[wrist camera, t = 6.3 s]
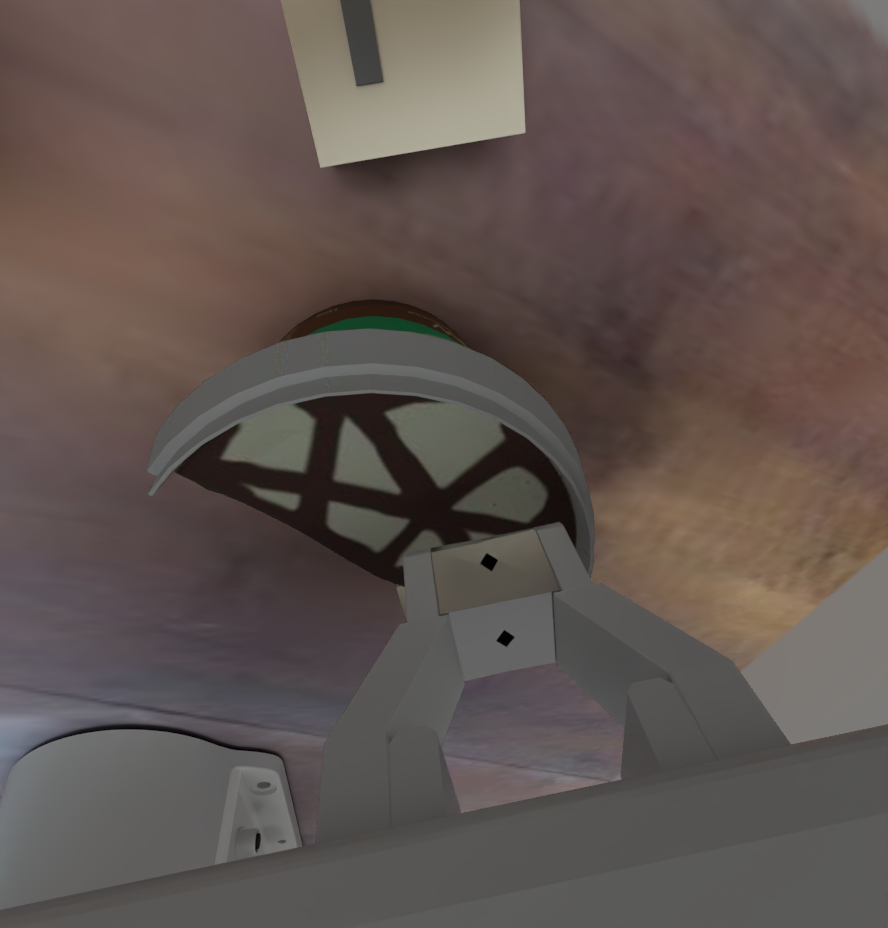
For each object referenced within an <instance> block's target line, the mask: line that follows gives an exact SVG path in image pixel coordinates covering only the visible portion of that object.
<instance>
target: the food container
mask: <svg viewBox="0 0 888 928" xmlns="http://www.w3.org/2000/svg"><path fill="white" fill-rule="evenodd" d="M174 471H175V472H176V473H178V474H180V475H182V476H184V477H186V478H188V479H190V480H192V481H194V482H196V483H198V484H199V485H201V486H202V487H204V488H206V489H207V490H211V491H214V492H217V493H221V494H223V495H226V496H228V497H231V498H233V499H236V500H238V501H241V502H243V503H245V504H247V505H249V506H251V507H253V508H255V509H257V510H259V511H261V512H263V513H265V514H267V515H270V516H272V517H274V518H276V519H278V520H280V521H282V522H284V523H286V524H288V525H290V526H291V527H293V528H295V529H297V530H299V531H300V532H302V533H304V534H306V535H307V536H309V537H311V538H312V539H314V540H316V541H317V542H319V543H321V544H322V545H324V546H326V547H327V548H329V549H331V550H332V551H334V552H335V553H337V554H339V555H340V556H342V557H344V558H345V559H347V560H349V561H351V562H352V563H354V564H356V565H358V566H360V567H361V568H363V569H365V570H367V571H368V572H370V573H372V574H374V575H375V576H377V577H379V578H382V579H384V580H387V581H390V582H392V583H395V584H398V585H400V586H403V587H405V582H404V568H403V556H404V553H408V552H413V551H419V550H425V549H431V548H433V547H439V546H444V545H450V544H455V543H461V542H467V541H472V540H478V539H483V538H487V537H492V536H497V535H502V534H507V533H511V532H516V531H521V530H526V529H530V528H534V527H538V526H543V525H547V524H552V523H556V522H560V523H561V524H563V526H564V528H565V530H566V532H567V534H568V536H569V537H570V539H571V541H572V543H573V545H574V547H575V549H576V551H577V553H578V555H579V557H580V559H581V561H582V563H583V565H584V567H585V569H586V571H587V573H588V575H589V577H590V579H591V573H592V568H593V562H594V542H595V541H594V513H593V508H592V504H591V499H590V495H589V491H588V487H587V483H586V480H585V476H584V473H583V469H582V466H581V462H580V459H579V455H578V452H577V450H576V448H575V446H574V444H573V442H572V439H571V437H570V435H569V433H568V431H567V428H566V427H565V425H564V424H563V422H562V421H561V420H560V418H559V417H558V416H557V414H556V413H555V411H554V410H553V409H552V407H551V406H550V405H549V403H548V402H547V401H546V400H545V399H544V398H543V397H542V396H541V395H540V394H539V393H538V392H537V391H536V390H535V389H533V388H532V387H531V386H530V385H529V384H528V383H527V382H526V381H525V380H524V379H523V378H522V377H520V376H518V375H517V374H515V373H514V372H512V371H511V370H509V369H508V368H506V367H504V366H503V365H501V364H500V363H498V362H497V361H495V360H494V359H492V358H490V357H488V356H486V355H483V354H481V353H479V352H476V351H474V350H471V349H470V348H469V347H468V346H467V345H466V343H465V342H464V341H463V340H462V339H461V337H460V336H459V335H458V334H457V333H455V332H454V331H453V330H452V329H451V328H450V327H449V326H448V325H447V324H446V323H444V322H443V321H441V320H439V319H438V318H436V317H435V316H433V315H432V314H430V313H428V312H425V311H423V310H421V309H419V308H416V307H414V306H411V305H407V304H403V303H399V302H395V301H385V300H362V301H352V302H348V303H344V304H340V305H336V306H332V307H330V308H328V309H325V310H323V311H321V312H318V313H316V314H314V315H312V316H311V317H309V318H308V319H306V320H304V321H303V322H301V323H300V324H298V325H297V326H296V327H295V328H294V329H292V330H291V331H290V332H289V333H288V334H287V335H286V336H285V337H284V338H283V339H282V340H281V341H280V342H279V343H277V344H275V345H272V346H270V347H267V348H265V349H262V350H260V351H258V352H255V353H253V354H250V355H248V356H245V357H243V358H241V359H239V360H237V361H236V362H234V363H232V364H231V365H229V366H228V367H226V368H225V369H223V370H221V371H220V372H218V373H217V374H215V375H213V376H212V377H210V378H209V379H207V380H205V381H204V382H203V383H202V384H201V385H200V386H199V387H198V388H197V389H195V390H194V391H193V392H192V393H191V394H190V395H189V396H188V397H187V398H186V399H185V400H183V401H182V402H181V403H180V404H179V405H178V406H177V407H176V408H175V409H174V411H173V412H172V413H171V415H170V416H169V417H168V419H167V420H166V421H165V423H164V424H163V426H162V427H161V428H160V430H159V431H158V432H157V434H156V437H155V440H154V444H153V448H152V451H151V455H150V459H149V463H148V466H147V470H146V472H148V473H150V474H153V475H155V476H157V478H156V479H155V481H154V483H153V485H152V487H151V489H150V491H149V493H148V495H149V496H151V497H152V496H153V494H154V493H155V492H156V491H157V490H158V489H159V488H160V487H161V486H162V484H163V483H164V482H165V481H166V480H167V479H168V478H169V477H170V475H171V474H172V473H173V472H174Z"/></svg>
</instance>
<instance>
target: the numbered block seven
mask: <svg viewBox="0 0 888 928" xmlns="http://www.w3.org/2000/svg"><path fill="white" fill-rule="evenodd" d="M281 4H282V8H283V13H284V17H285V21H286V25H287V29H288V34H289V38H290V42H291V46H292V50H293V55H294V59H295V63H296V67H297V71H298V76H299V80H300V84H301V88H302V92H303V97H304V101H305V105H306V109H307V113H308V118H309V122H310V126H311V130H312V134H313V139H314V143H315V147H316V151H317V155H318V160H319V164H320V168H322V167H328V166H333V165H339V164H345V163H351V162H357V161H363V160H369V159H375V158H381V157H387V156H392V155H398V154H404V153H410V152H416V151H422V150H428V149H434V148H440V147H445V146H451V145H457V144H463V143H469V142H475V141H481V140H487V139H493V138H499V137H504V136H510V135H516V134H522V133H525V111H524V89H523V66H522V44H521V21H520V0H281Z"/></svg>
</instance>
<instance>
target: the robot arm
mask: <svg viewBox="0 0 888 928" xmlns="http://www.w3.org/2000/svg"><path fill="white" fill-rule="evenodd" d="M403 568H404V582H405V597H406V612H407V623H403V624H399V625H398V627H397V629H396V630H395V632H394V633H393V635H392V637H391V638H390V640H389V641H388V643H387V645H386V646H385V648H384V649H383V651H382V653H381V654H380V656H379V657H378V659H377V660H376V662H375V664H374V665H373V667H372V668H371V670H370V672H369V673H368V675H367V676H366V678H365V680H364V681H363V683H362V684H361V686H360V688H359V689H358V691H357V692H356V694H355V696H354V697H353V699H352V700H351V702H350V704H349V705H348V707H347V708H346V710H345V711H344V713H343V715H342V716H341V718H340V719H339V721H338V723H337V724H336V726H335V727H334V729H333V731H332V732H331V734H330V735H329V737H328V739H327V740H326V742H325V743H324V753H323V764H322V776H321V787H320V798H319V809H318V820H317V832H316V843H315V844H312V845H307V846H302V841H301V837H300V833H299V828H298V824H297V820H296V816H295V811H294V807H293V803H292V798H291V794H290V790H289V786H288V781H287V777H286V773H285V768H284V764H283V761H282V760H281V758H279V757H278V756H275V755H272V754H268V753H261V752H252V751H241V750H232V749H228V748H224V747H221V746H218V745H215V744H212V743H210V742H207V741H204V740H201V739H197V738H194V737H190V736H186V735H181V734H176V733H170V732H162V731H153V730H127V729H126V730H106V731H97V732H90V733H84V734H79V735H74V736H70V737H66V738H62V739H59V740H56V741H53V742H50V743H48V744H45V745H43V746H41V747H39V748H37V749H35V750H33V751H31V752H30V753H28V754H27V755H25V756H24V757H23V758H21V759H20V760H19V761H18V762H17V763H16V764H15V765H14V766H13V768H12V769H11V771H10V773H9V774H8V777H7V780H6V784H5V787H4V791H3V794H2V798H1V800H0V928H888V724H887V725H882V726H877V727H873V728H868V729H863V730H858V731H853V732H849V733H844V734H839V735H834V736H829V737H824V738H820V739H815V740H810V741H805V742H800V743H796V744H790V742H789V741H788V739H787V738H786V737H785V735H784V734H783V732H782V731H781V729H780V728H779V727H778V725H777V724H776V722H775V721H774V720H773V718H772V717H771V715H770V714H769V713H768V711H767V709H766V708H765V707H764V705H763V704H762V702H761V701H760V699H759V698H758V697H757V695H756V694H755V692H754V691H753V689H752V688H751V686H750V685H749V684H748V682H747V681H746V679H745V678H744V676H743V675H742V674H741V672H740V671H739V669H738V668H737V666H736V665H735V664H734V662H733V661H732V660H731V659H729V658H727V657H726V656H724V655H722V654H720V653H719V652H717V651H715V650H714V649H712V648H710V647H709V646H707V645H705V644H704V643H702V642H700V641H699V640H697V639H695V638H693V637H692V636H690V635H688V634H687V633H685V632H683V631H682V630H680V629H678V628H677V627H675V626H673V625H672V624H670V623H668V622H666V621H665V620H663V619H661V618H660V617H658V616H656V615H655V614H653V613H651V612H650V611H648V610H646V609H644V608H643V607H641V606H639V605H638V604H636V603H634V602H633V601H631V600H629V599H628V598H626V597H624V596H623V595H621V594H619V593H617V592H616V591H614V590H612V589H611V588H609V587H607V586H606V585H604V584H602V583H600V584H595V585H593V583H592V581H591V579H590V577H589V575H588V573H587V571H586V569H585V567H584V565H583V563H582V561H581V559H580V557H579V555H578V553H577V551H576V549H575V547H574V545H573V543H572V541H571V539H570V537H569V536H568V534H567V532H566V530H565V528H564V526H563V524H561V523H560V522H556V523H552V524H547V525H543V526H538V527H534V528H530V529H526V530H521V531H516V532H511V533H507V534H502V535H497V536H492V537H487V538H483V539H478V540H472V541H467V542H461V543H455V544H450V545H444V546H439V547H433V548H431V549H425V550H419V551H413V552H408V553H404V556H403ZM551 663H557V666H559V667H560V668H561V669H562V670H563V671H564V672H565V673H566V674H567V675H568V676H569V677H570V678H571V679H573V680H574V681H575V682H576V683H577V684H578V685H579V686H580V687H581V688H582V689H583V690H584V691H586V692H587V693H588V694H589V695H590V696H591V697H592V698H593V699H594V700H595V701H596V702H597V703H598V704H600V705H601V706H602V707H603V708H604V709H605V710H606V711H607V712H608V713H609V714H610V715H611V716H612V717H614V718H615V719H616V720H617V721H618V722H619V723H620V724H621V725H622V726H623V727H624V728H625V730H624V741H623V753H622V764H621V775H620V776H621V779H622V780H618V781H613V782H608V783H603V784H599V785H594V786H589V787H584V788H580V789H575V790H570V791H565V792H560V793H556V794H551V795H546V796H541V797H537V798H532V799H527V800H522V801H517V802H513V803H508V804H503V805H498V806H494V807H489V808H484V809H479V810H474V811H470V812H465V813H461V810H460V807H459V803H458V800H457V797H456V794H455V790H454V787H453V784H452V781H451V777H450V774H449V771H448V768H447V764H446V761H445V758H444V755H443V751H442V748H441V747H442V744H443V741H444V739H445V736H446V733H447V731H448V728H449V725H450V723H451V720H452V717H453V715H454V712H455V709H456V707H457V704H458V701H459V699H460V696H461V693H462V691H463V688H464V685H465V683H464V681H468V680H473V679H477V678H481V677H485V676H490V675H494V674H498V673H502V672H507V671H512V670H517V669H523V668H529V667H534V666H540V665H545V664H551Z"/></svg>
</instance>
